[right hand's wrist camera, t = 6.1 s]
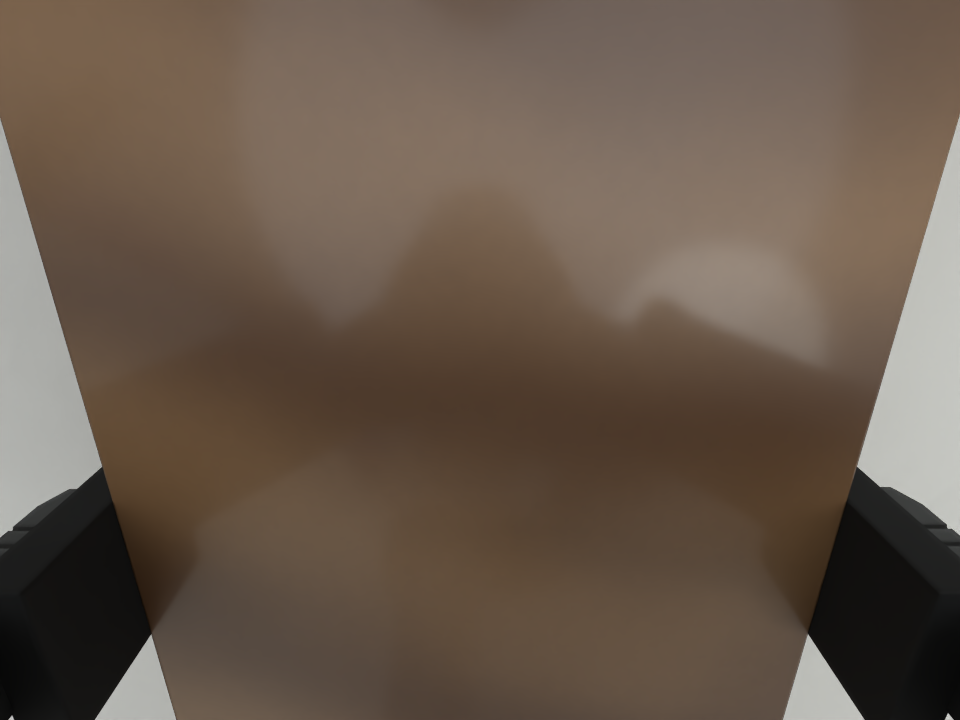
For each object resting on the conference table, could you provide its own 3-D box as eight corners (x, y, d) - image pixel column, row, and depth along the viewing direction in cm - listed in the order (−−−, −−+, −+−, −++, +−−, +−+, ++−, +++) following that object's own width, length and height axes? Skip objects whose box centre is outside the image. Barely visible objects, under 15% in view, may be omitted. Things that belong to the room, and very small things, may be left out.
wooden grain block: (238, -86, 13) (-176, -468, 5) (721, -86, 13) (1133, -467, 5) (311, 473, 19) (179, 737, 10) (647, 473, 19) (779, 736, 10)
